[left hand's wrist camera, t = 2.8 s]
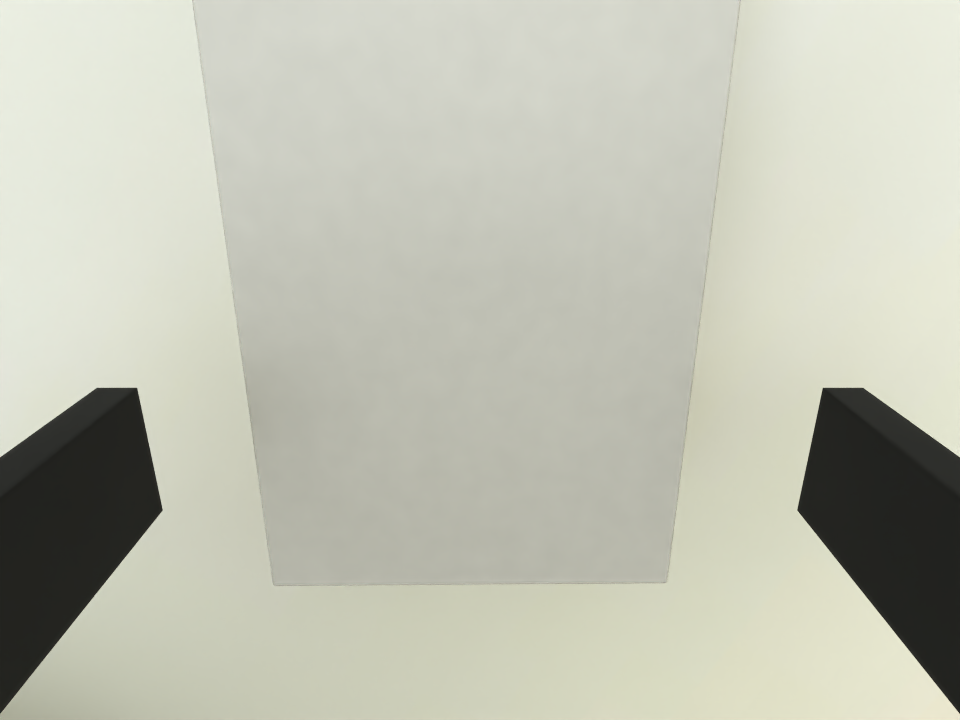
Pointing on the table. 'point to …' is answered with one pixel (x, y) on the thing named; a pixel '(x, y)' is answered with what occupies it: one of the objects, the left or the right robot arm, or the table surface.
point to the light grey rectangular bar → (467, 276)
